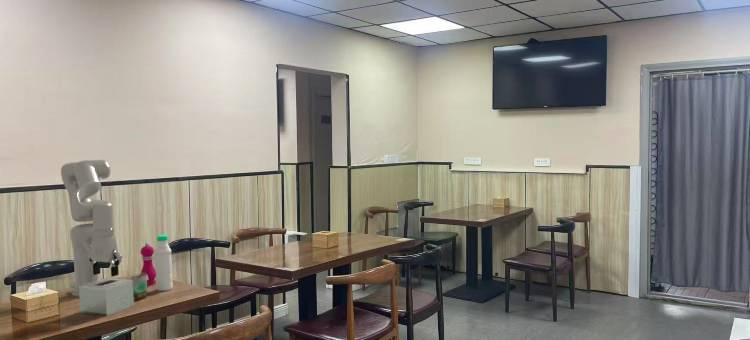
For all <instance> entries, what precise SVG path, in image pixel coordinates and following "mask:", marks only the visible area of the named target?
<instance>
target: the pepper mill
mask: <svg viewBox="0 0 750 340" xmlns="http://www.w3.org/2000/svg"><path fill="white" fill-rule="evenodd" d="M154 249H155V248H153V246H151V245H150V243H149V242H146V243H144V246H143V247H142V248H140V255H141V261H142V268H141V270H140V273H139V274H140V275H141V273H146V274H147V275H148V278H149V279H148V280H147V287H148V285H149V286H154V285H156V284H157V281H156V268H155V267H154V263H153V259H154V254H155V250H154ZM140 275H139V276H140ZM153 284H154V285H153Z"/></svg>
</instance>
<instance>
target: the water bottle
mask: <svg viewBox="0 0 750 340" xmlns="http://www.w3.org/2000/svg"><path fill="white" fill-rule="evenodd" d="M168 236H169V235H166V234H162V235H157V237H156V241H157V246H156V248H155V250H154V254H155V256H154V257H155V259H154V262H155V271H156V277H155V280H156V283H155V285H156V290H157V291H159V292H164V291H165V292H167V291H170V290H172V289H173V287H174V285H173V272H172V270H173V264H172V263H173V261H172V249H171V248H170V247H171V246H170V245H169V244H168V240H169V237H168Z"/></svg>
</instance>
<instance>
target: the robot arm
mask: <svg viewBox="0 0 750 340" xmlns="http://www.w3.org/2000/svg"><path fill="white" fill-rule="evenodd" d="M60 176H61V180H62V183H63V185H64V187H65V189H66V191H67V193H68V201H69V208H70V213H71V214H70V215H71V218H72V220H73V221H74V222H76V223H83V224H78V225H77V224H76V225H75V226H73V227H72V228H70V232H69V235H70V240H71V245H72V253H73V266H74V267H73V268H74V270H73V271H74V283H72V285H70V288H71V289H73V291H72V292H71V296H72V297H77V298H80V295H79V286H80V285H83V284H87V283H90V282H94V281H97V280H99V275H100V274H101V263H110V265H111V266H110V275H111V277H116V276H119V275H120V274H119V273H120V272H119V266H120V263H121V262H122V259H123V255H122V254H121V253H120V252H118V245H117V241H116V236H115V229H114V228H115V226H114V208H113V204H112V203H111V202H110V201H108V200H104V199H94V200H93V199H91V197H92V196H94V195H95V194H98V192H100V190H101V188H102V183H101V180H106V179H108V178H109V177H110V176H111V166H110V163H108V161H106V159H105V160H104V159H92V160H89V159H87V160H81V161H77V162H76V161H75V162H74V161H73V162H68V163H65V164H63V165H62V166H61V168H60ZM85 222H92V223H85Z"/></svg>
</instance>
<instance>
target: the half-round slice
mask: <svg viewBox="0 0 750 340" xmlns="http://www.w3.org/2000/svg"><path fill="white" fill-rule="evenodd" d="M140 274H141V275H137V276H133V277H131V278H127V279H128V280H133V298H134V302H140V301H143V300H145V299H147V289H148V288H147V287H148V286H147V280H148V279H149V278H148V275H147V274H146V273H141V272H140Z"/></svg>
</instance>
